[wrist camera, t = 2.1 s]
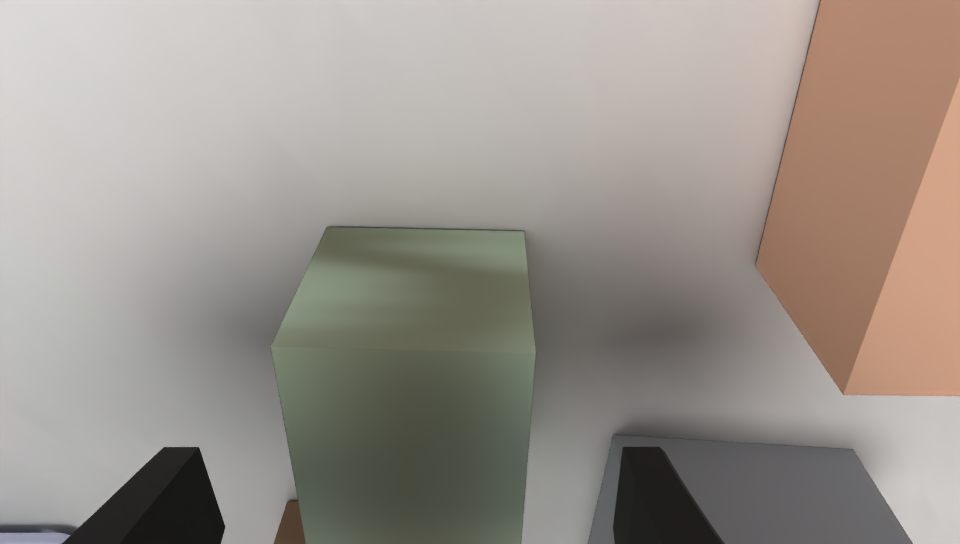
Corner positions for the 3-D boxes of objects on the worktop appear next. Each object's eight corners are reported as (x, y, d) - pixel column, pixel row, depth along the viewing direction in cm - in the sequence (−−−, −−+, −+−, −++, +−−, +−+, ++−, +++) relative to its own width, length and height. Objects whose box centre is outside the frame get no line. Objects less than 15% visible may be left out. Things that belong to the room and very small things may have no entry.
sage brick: (351, 442, 16) (314, 591, 13) (326, 227, 13) (270, 346, 10) (511, 446, 16) (517, 595, 13) (523, 231, 13) (535, 353, 10)
